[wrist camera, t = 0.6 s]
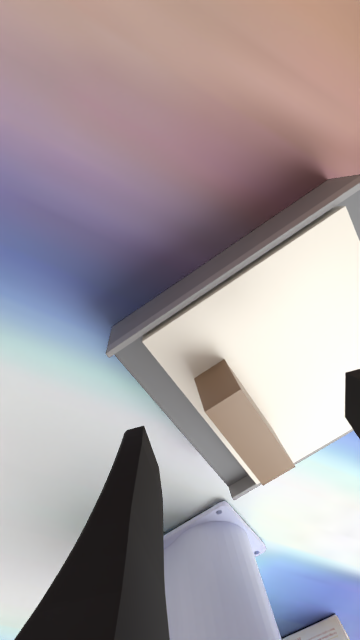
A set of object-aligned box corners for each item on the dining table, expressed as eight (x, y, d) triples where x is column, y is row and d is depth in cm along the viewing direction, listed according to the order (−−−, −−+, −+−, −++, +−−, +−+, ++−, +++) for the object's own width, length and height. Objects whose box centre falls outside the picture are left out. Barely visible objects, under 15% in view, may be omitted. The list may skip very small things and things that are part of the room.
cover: (251, 472, 21) (275, 528, 18) (141, 334, 17) (142, 370, 13) (406, 381, 20) (466, 420, 16) (333, 206, 16) (394, 205, 12)
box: (220, 457, 25) (234, 500, 21) (111, 326, 20) (105, 353, 16) (397, 349, 23) (446, 376, 19) (328, 179, 18) (375, 172, 14)
